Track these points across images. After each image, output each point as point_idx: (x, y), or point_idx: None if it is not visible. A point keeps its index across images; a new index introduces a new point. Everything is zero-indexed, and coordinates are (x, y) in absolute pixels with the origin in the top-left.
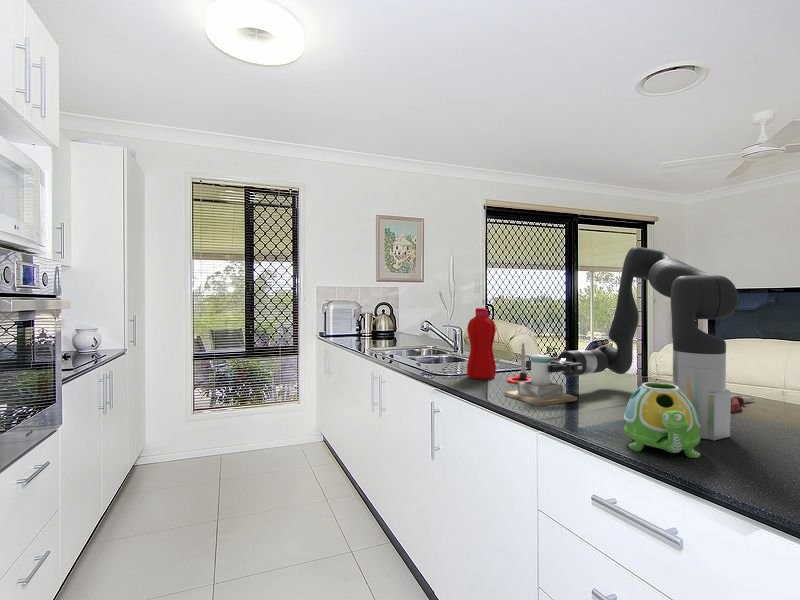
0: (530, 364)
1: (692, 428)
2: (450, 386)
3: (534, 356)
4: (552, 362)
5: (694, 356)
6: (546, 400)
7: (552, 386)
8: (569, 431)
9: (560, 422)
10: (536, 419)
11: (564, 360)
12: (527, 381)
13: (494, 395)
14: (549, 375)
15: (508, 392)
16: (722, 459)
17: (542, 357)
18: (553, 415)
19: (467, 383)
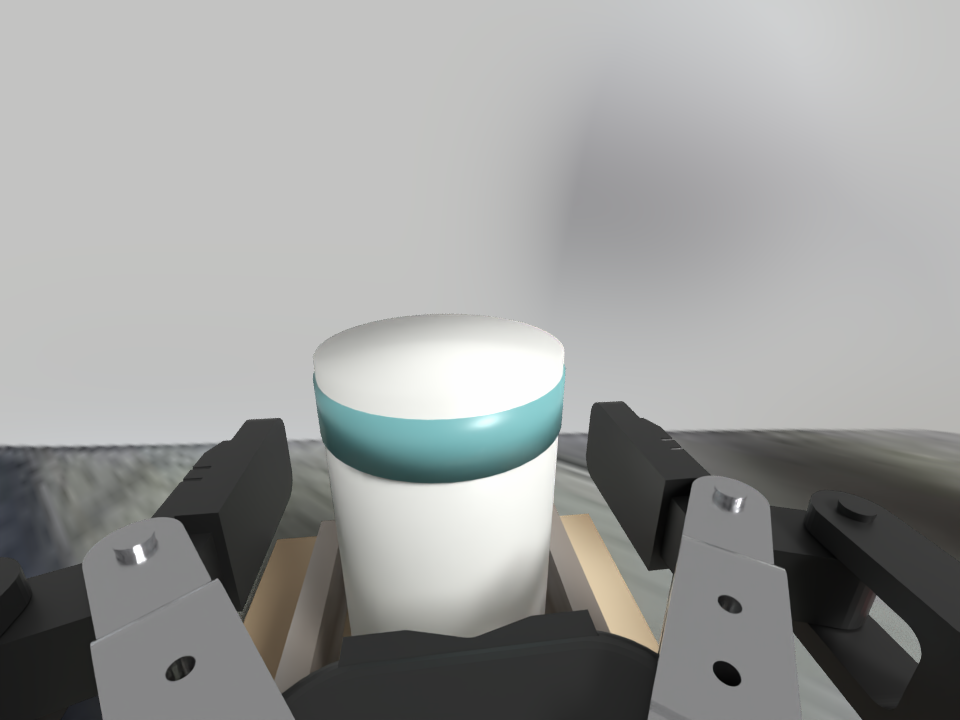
0: (604, 456)
1: None
2: (800, 435)
3: (426, 315)
4: (495, 643)
5: None
6: (271, 595)
7: (286, 645)
8: (4, 454)
9: (64, 483)
10: (177, 448)
11: (124, 713)
12: (582, 577)
13: (590, 494)
14: (347, 587)
15: (566, 522)
16: None
17: (350, 335)
18: (129, 514)
19: (950, 511)
